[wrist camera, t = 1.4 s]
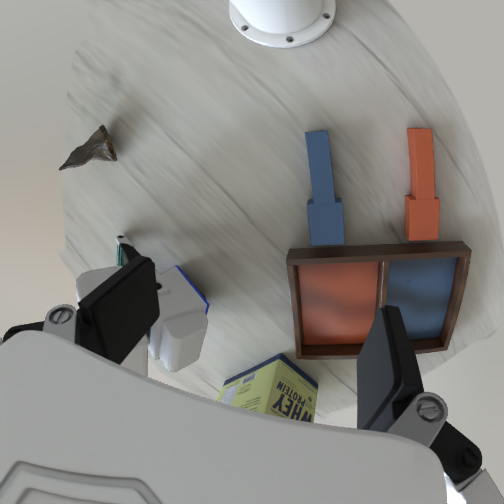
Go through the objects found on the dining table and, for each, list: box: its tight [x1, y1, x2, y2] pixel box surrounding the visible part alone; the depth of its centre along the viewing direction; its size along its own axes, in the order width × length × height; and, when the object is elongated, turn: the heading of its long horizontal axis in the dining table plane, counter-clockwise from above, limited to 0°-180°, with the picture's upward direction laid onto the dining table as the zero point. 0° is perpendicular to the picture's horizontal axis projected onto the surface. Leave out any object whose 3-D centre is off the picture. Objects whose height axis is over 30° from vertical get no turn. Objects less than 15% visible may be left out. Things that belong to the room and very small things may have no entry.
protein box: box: [216, 353, 318, 423], centre depth 40 cm, size 10×16×16 cm
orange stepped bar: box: [405, 128, 440, 241], centre depth 27 cm, size 13×4×2 cm, turn 9°
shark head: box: [59, 125, 117, 171], centre depth 33 cm, size 8×6×7 cm
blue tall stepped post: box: [305, 131, 345, 246], centre depth 30 cm, size 13×4×2 cm, turn 9°
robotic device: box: [76, 235, 209, 377], centre depth 37 cm, size 10×21×20 cm
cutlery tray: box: [286, 241, 472, 359], centre depth 34 cm, size 17×24×3 cm
